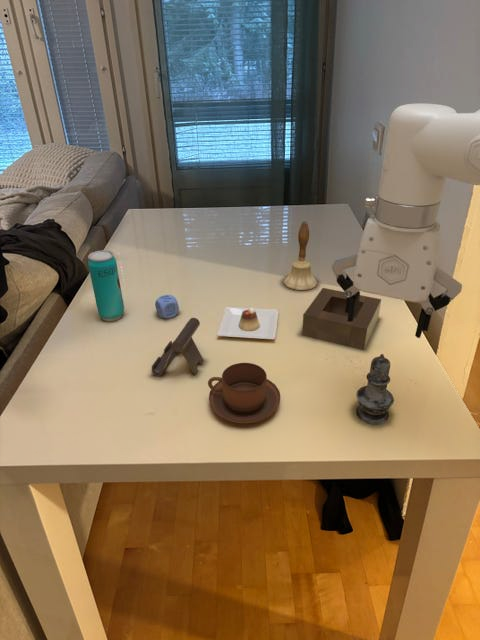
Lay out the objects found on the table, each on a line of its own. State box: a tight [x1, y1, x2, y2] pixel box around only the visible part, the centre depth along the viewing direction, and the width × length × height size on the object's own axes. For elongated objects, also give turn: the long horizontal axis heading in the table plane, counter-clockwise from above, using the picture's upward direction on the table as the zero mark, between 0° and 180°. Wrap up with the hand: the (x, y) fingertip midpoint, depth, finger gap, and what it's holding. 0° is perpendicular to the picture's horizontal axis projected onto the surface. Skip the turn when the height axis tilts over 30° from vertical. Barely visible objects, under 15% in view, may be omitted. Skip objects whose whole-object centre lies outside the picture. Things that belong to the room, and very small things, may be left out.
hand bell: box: [283, 220, 318, 291], centre depth 114 cm, size 8×8×16 cm
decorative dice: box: [154, 294, 180, 320], centre depth 105 cm, size 4×4×4 cm
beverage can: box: [87, 249, 125, 322], centre depth 101 cm, size 6×6×15 cm
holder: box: [301, 287, 382, 350], centre depth 98 cm, size 13×13×5 cm
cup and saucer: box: [207, 362, 281, 424], centre depth 78 cm, size 12×12×6 cm
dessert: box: [216, 306, 280, 340], centre depth 99 cm, size 12×12×5 cm
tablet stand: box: [151, 317, 205, 377], centre depth 87 cm, size 9×8×8 cm
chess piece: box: [355, 353, 395, 426], centre depth 74 cm, size 6×6×12 cm
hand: (384, 325), depth 68 cm, fingers open, 9 cm apart
